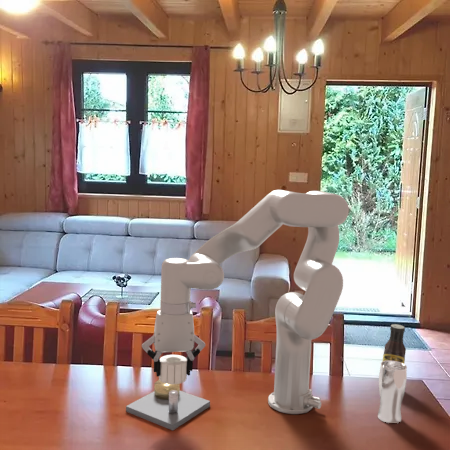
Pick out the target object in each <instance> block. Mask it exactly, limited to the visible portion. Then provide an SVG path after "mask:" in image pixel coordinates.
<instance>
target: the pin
mask: <svg viewBox="0 0 450 450" xmlns="http://www.w3.org/2000/svg"><path fill="white" fill-rule="evenodd" d="M177 413H178V391H175V390H172V391H170V392H169V414H171V415H175V414H177Z"/></svg>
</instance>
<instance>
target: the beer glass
mask: <svg viewBox="0 0 450 450" xmlns="http://www.w3.org/2000/svg"><path fill="white" fill-rule="evenodd" d="M407 368H408V367H407V365H406V364H405V363H404V364H403V363H401V362H398V361H393V360H386V361H383V360H382V361H381V362H380V368H379V373H378V375H379V376H378V391H379V399H380V401H379V403H380V404H379V409H378V413H377V418H378V419H379V420H380V421H381V422H383V423H385V422H386V424H389V423H397V424H399V422H400V423H401V422H402V414H401V413H402V411H401V410H402V409H401V408H402V403H403V399H404V396H405V393H406V388H407V379H408V378H407V376H408V375H407V374H408V373H407V372H408V370H407Z"/></svg>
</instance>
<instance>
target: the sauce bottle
mask: <svg viewBox="0 0 450 450" xmlns="http://www.w3.org/2000/svg"><path fill="white" fill-rule="evenodd" d="M405 330H406V328H405V326H404V325H401V324H398V323H397V324H396V323H394V324H391V325H390V332H389V333H390V335H389V339H388V341H387V342H386V343H385V345H384V350H383V355H382V362H383V361H386V360H393V361H398V362H401V363H403V364H405V360H406V359H405V358H406V351H407V350H406V349H407V348H406V346H405V344H404V335H405V332H406V331H405Z"/></svg>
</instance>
